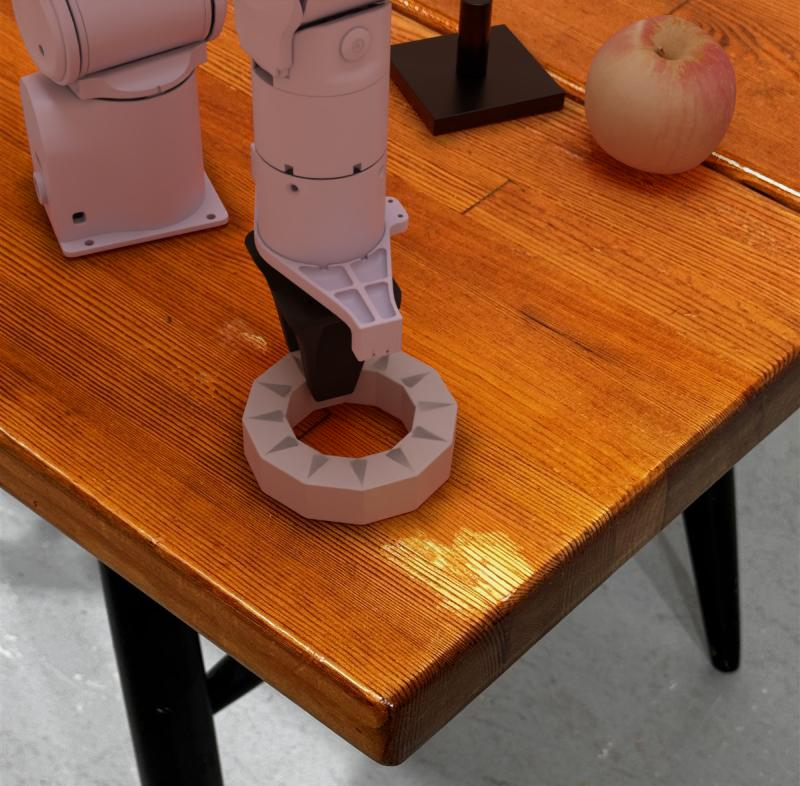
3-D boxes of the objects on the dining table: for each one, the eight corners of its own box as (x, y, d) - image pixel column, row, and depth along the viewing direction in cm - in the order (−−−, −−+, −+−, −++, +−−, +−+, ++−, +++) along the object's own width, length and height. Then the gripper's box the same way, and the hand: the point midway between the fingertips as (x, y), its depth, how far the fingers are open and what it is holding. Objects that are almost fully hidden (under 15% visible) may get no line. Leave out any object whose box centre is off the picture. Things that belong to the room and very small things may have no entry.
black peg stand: (433, 136, 90) (438, 45, 85) (379, 62, 95) (381, -26, 91) (563, 109, 92) (575, 19, 88) (503, 39, 98) (511, -49, 93)
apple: (655, 102, 93) (676, -15, 87) (751, 171, 88) (780, 53, 82) (547, 142, 90) (562, 23, 84) (640, 216, 85) (662, 95, 79)
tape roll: (287, 547, 66) (286, 511, 65) (220, 405, 73) (218, 369, 71) (486, 490, 69) (490, 455, 68) (405, 358, 76) (407, 323, 74)
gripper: (475, 218, 59) (455, 452, 69) (347, 42, 68) (345, 271, 78) (312, 255, 57) (315, 491, 67) (202, 68, 66) (219, 300, 76)
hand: (322, 375), depth 72 cm, fingers closed on tape roll, 2 cm apart
